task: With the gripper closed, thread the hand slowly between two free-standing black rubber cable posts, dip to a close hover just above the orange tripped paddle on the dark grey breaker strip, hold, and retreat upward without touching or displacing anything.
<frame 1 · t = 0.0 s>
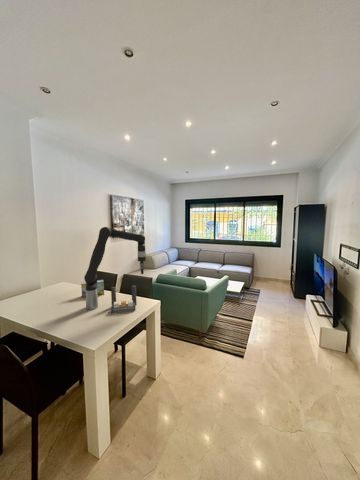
hand: (142, 272, 184), 29 cm above the table, fingers open, 8 cm apart
paddle tripped: (123, 305, 171), point 4 cm above the table, touching breaker strip
paddle 3: (130, 305, 173), point 4 cm above the table, touching breaker strip
paddle 1: (116, 306, 170), point 4 cm above the table, touching breaker strip
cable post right: (134, 304, 183), on the table
breaker strip: (123, 310, 172), on the table
snack box: (93, 295, 205), on the table
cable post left: (114, 306, 179), on the table
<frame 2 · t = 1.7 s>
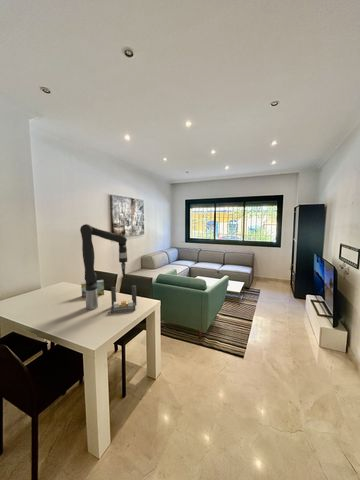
hand: (123, 275, 185), 27 cm above the table, fingers closed
nothing on the table moved.
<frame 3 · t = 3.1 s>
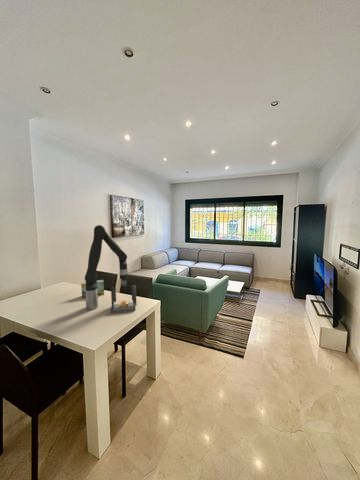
hand: (124, 291, 187), 11 cm above the table, fingers closed
nothing on the table moved.
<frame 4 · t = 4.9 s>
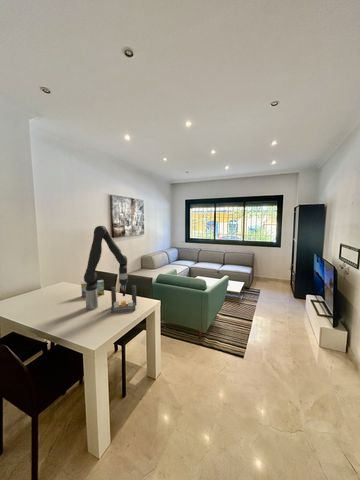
hand: (124, 295, 179), 10 cm above the table, fingers closed
nothing on the table moved.
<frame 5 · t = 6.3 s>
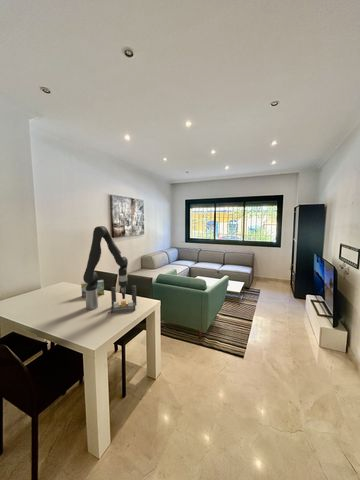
hand: (123, 298, 173), 10 cm above the table, fingers closed
nothing on the table moved.
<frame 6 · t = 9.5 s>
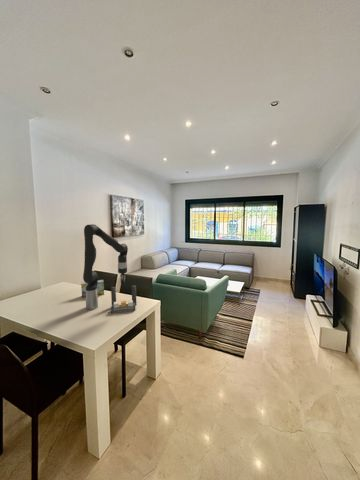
hand: (123, 286, 169), 22 cm above the table, fingers closed
nothing on the table moved.
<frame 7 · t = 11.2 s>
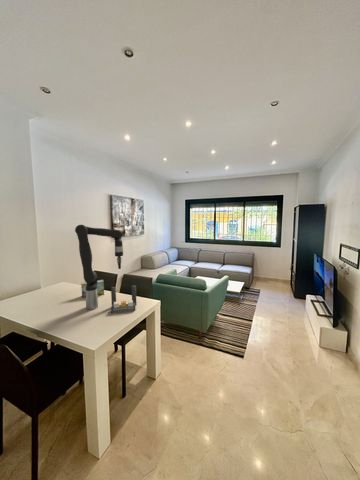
hand: (119, 268, 189), 32 cm above the table, fingers closed
nothing on the table moved.
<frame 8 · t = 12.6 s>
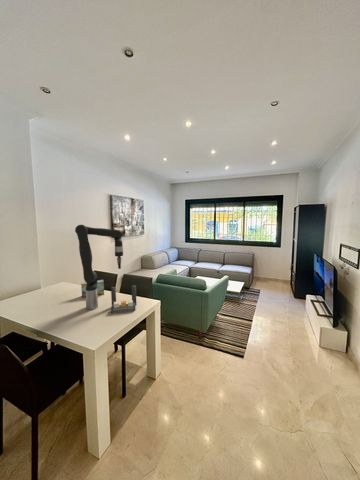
hand: (119, 268, 189), 32 cm above the table, fingers closed
nothing on the table moved.
at the end: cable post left moved 0.0 cm from its start; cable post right moved 0.0 cm from its start; paddle tripped moved 0.0 cm from its start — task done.
